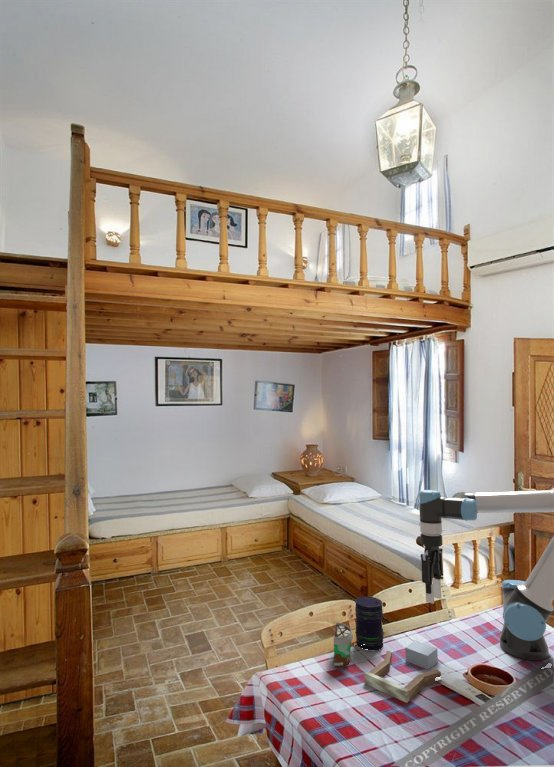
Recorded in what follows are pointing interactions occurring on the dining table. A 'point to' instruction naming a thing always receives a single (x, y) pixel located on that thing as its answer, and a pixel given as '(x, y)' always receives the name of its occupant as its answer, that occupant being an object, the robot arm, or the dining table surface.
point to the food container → (342, 645)
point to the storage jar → (369, 623)
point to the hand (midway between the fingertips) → (433, 599)
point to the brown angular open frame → (393, 689)
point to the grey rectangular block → (421, 654)
